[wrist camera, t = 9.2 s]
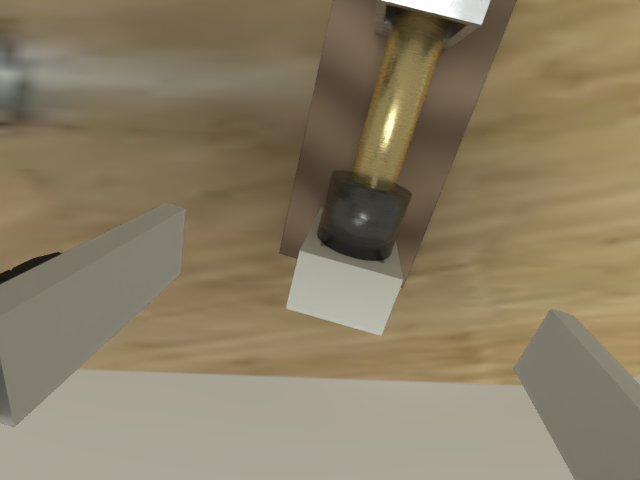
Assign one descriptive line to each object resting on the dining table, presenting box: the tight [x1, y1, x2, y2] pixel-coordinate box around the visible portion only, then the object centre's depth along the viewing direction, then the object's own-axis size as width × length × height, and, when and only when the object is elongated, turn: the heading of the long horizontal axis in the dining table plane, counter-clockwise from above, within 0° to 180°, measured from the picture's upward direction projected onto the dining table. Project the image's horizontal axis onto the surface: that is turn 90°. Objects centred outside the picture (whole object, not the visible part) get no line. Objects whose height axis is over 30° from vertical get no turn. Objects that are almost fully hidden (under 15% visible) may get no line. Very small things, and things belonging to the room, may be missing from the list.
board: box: [279, 0, 517, 288], centre depth 24 cm, size 27×11×1 cm, turn 167°
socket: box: [286, 208, 403, 336], centre depth 24 cm, size 4×6×10 cm, turn 76°
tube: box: [317, 7, 451, 261], centre depth 19 cm, size 19×5×5 cm, turn 167°
